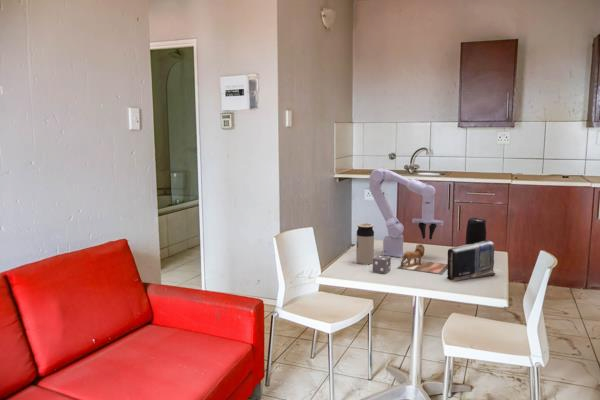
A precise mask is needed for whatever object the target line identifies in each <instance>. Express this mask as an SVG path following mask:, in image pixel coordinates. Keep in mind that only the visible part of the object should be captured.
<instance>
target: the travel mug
mask: <svg viewBox="0 0 600 400" xmlns="http://www.w3.org/2000/svg"><path fill="white" fill-rule="evenodd" d="M356 226H357V230H356V263H357V264H360V265H371V264H373V258H375V257H374V256H375V254H374V252H375V251H374V249H375V248H374V247H375V231H374V229H373V227H374V224H373V223H368V222H366V223H365V222H364V223H363V222H362V223H357V224H356Z"/></svg>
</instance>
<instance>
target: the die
mask: <svg viewBox="0 0 600 400" xmlns="http://www.w3.org/2000/svg"><path fill="white" fill-rule="evenodd" d="M391 257H392V256H386V255H376V256H375V257H374V258H373V263H372V273H377V274H384V275H387V273H389V272H390V271H391V265H392V264H391V262H392V261H391V260H392V259H391Z"/></svg>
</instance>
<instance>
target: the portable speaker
mask: <svg viewBox="0 0 600 400" xmlns="http://www.w3.org/2000/svg"><path fill="white" fill-rule="evenodd" d="M486 222H487V221H486V219H485V218H477V217H469V218H468V220H467V224H466V229H465V231H466V232H465V245H466V244H474V243H476V242H481V241H485V240H486V239H487V225H486V224H487V223H486Z"/></svg>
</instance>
